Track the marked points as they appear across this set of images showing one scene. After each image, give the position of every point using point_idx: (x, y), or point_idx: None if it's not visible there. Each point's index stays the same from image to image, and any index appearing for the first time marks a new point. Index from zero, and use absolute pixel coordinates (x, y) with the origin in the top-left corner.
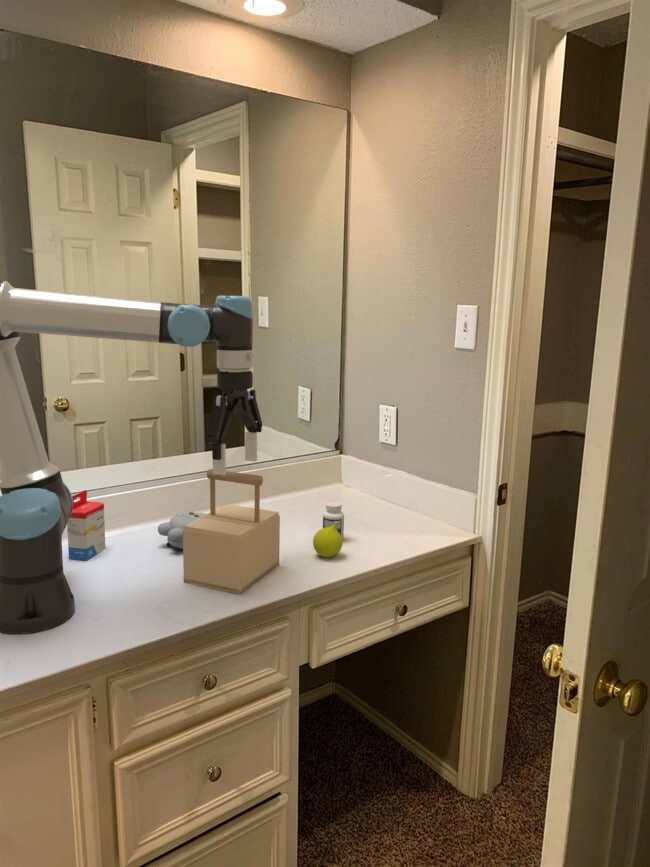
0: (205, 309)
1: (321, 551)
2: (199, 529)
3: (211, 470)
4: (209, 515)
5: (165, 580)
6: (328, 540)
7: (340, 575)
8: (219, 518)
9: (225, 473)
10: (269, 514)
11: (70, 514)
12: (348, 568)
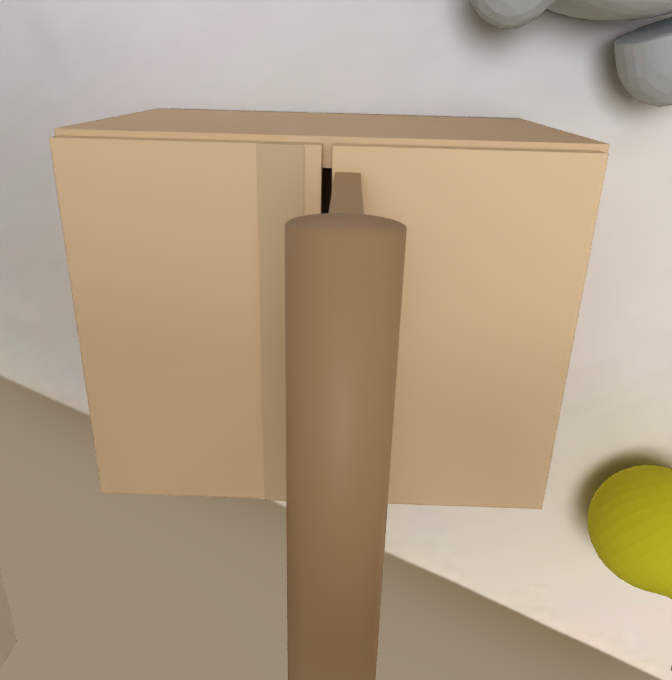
0: None
1: (589, 509)
2: (68, 254)
3: (317, 283)
4: (315, 176)
5: (136, 13)
6: (610, 563)
7: (467, 571)
8: (282, 273)
9: (2, 650)
10: (482, 484)
11: None
12: (535, 575)
